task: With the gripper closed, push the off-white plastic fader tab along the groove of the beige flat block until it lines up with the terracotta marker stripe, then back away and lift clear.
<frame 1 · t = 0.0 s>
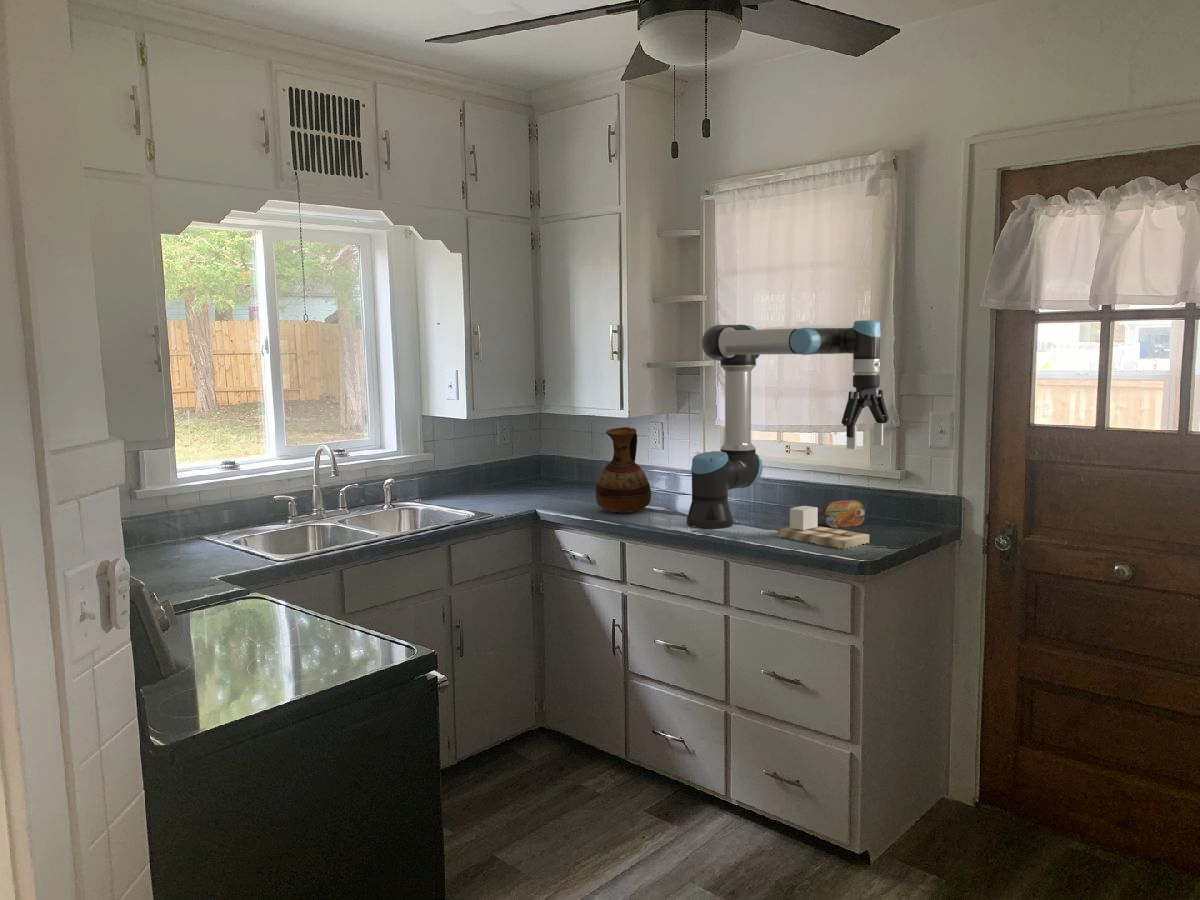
hand: (865, 446, 270), 28 cm above the countertop, tool pointing down, fingers open, 13 cm apart
ceramic pitcher: (623, 511, 330), on the countertop
fader tab: (803, 517, 280), point 6 cm above the countertop, slide at 0.0 cm
beige flat block: (822, 539, 275), on the countertop
tin: (843, 527, 296), on the countertop
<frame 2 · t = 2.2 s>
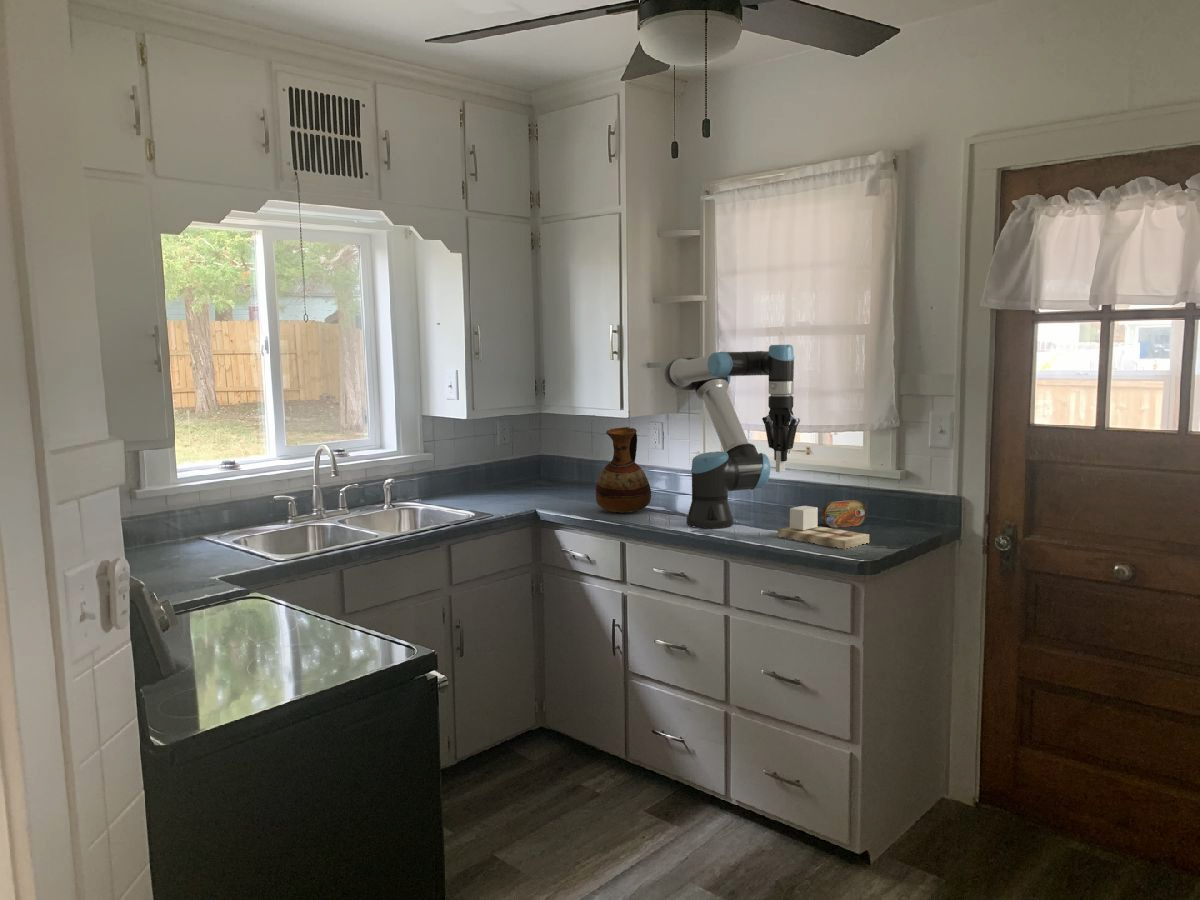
hand: (780, 471, 285), 19 cm above the countertop, tool pointing down, fingers closed
nothing on the countertop moved.
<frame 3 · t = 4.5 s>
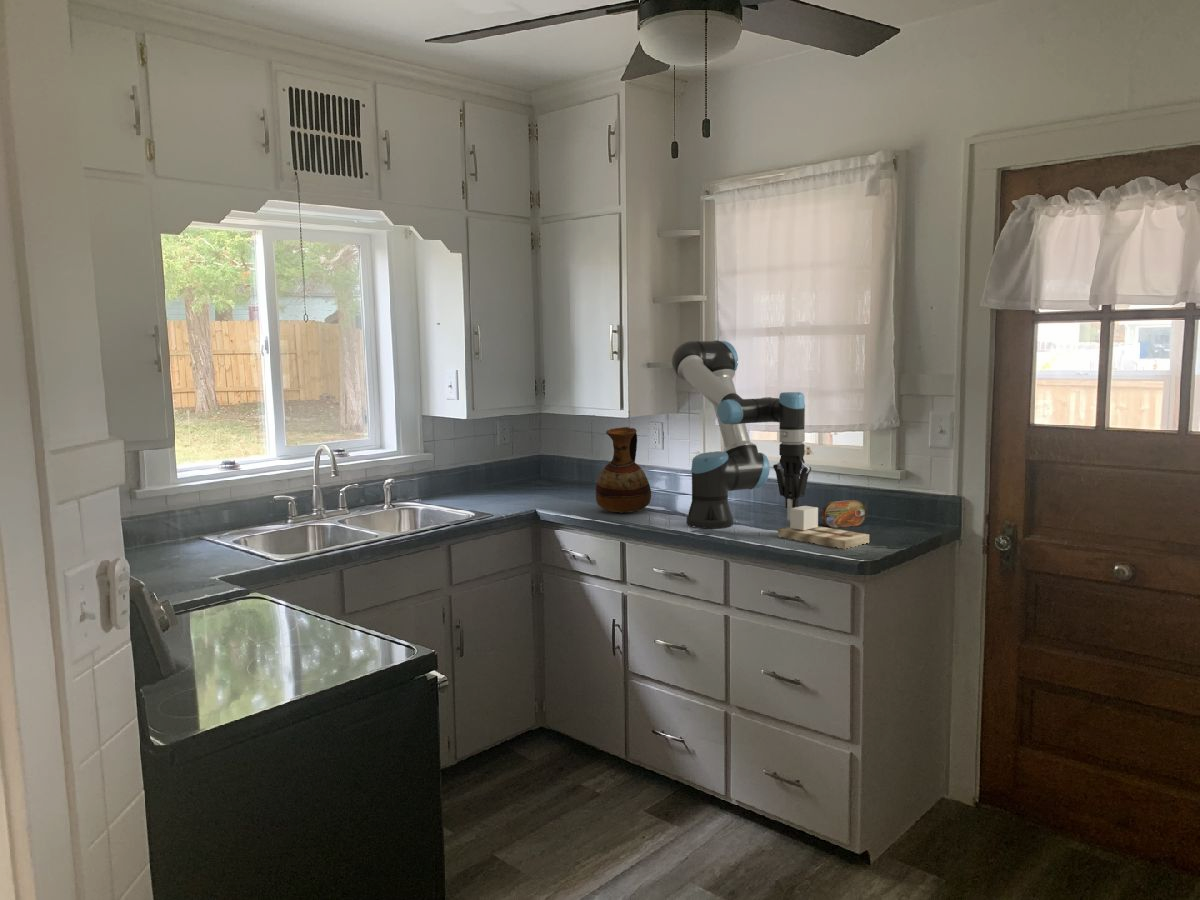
hand: (791, 519, 283), 5 cm above the countertop, tool pointing down, fingers closed
fader tab: (804, 517, 280), point 6 cm above the countertop, slide at 0.1 cm, touching gripper
everything else where it was.
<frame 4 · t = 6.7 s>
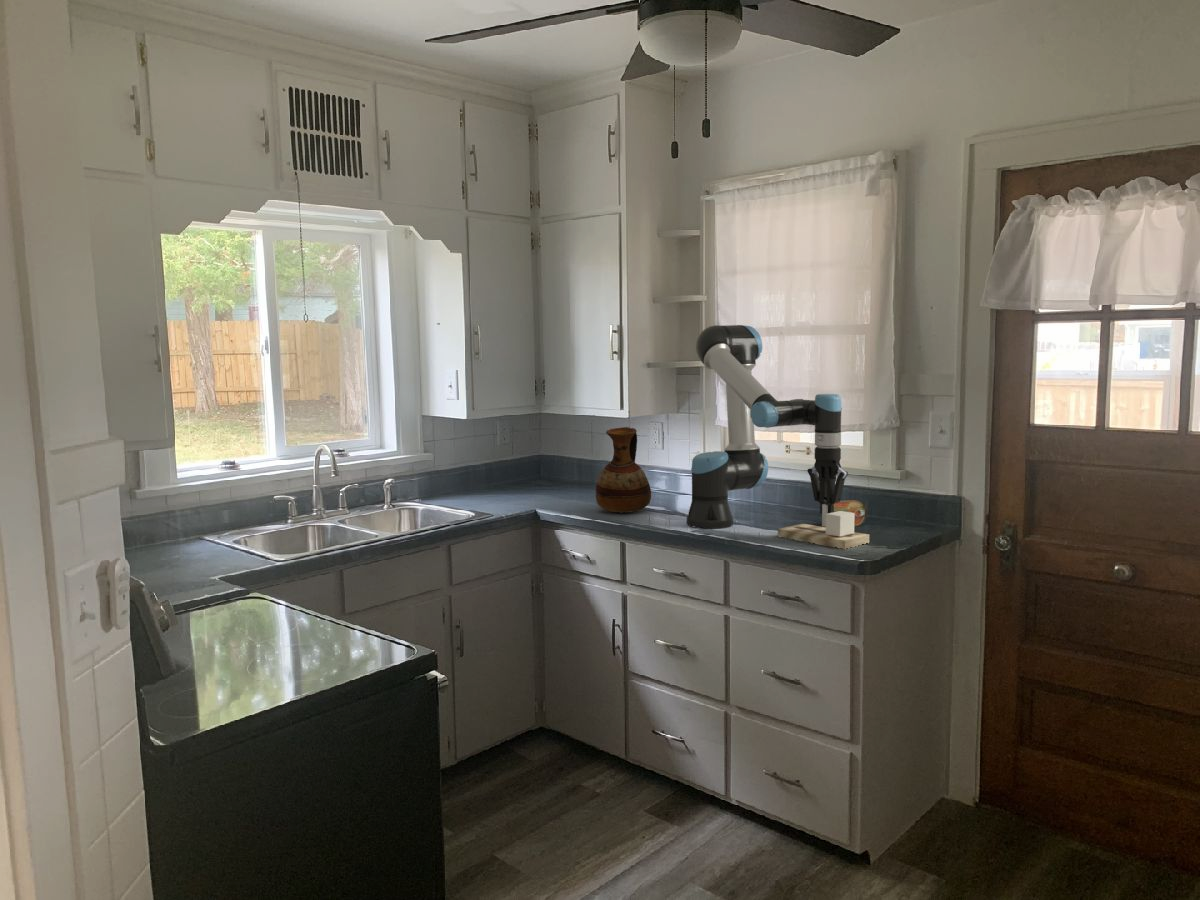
hand: (826, 525, 274), 5 cm above the countertop, tool pointing down, fingers closed
fader tab: (840, 523, 270), point 6 cm above the countertop, slide at 13.1 cm, touching gripper
everything else where it was.
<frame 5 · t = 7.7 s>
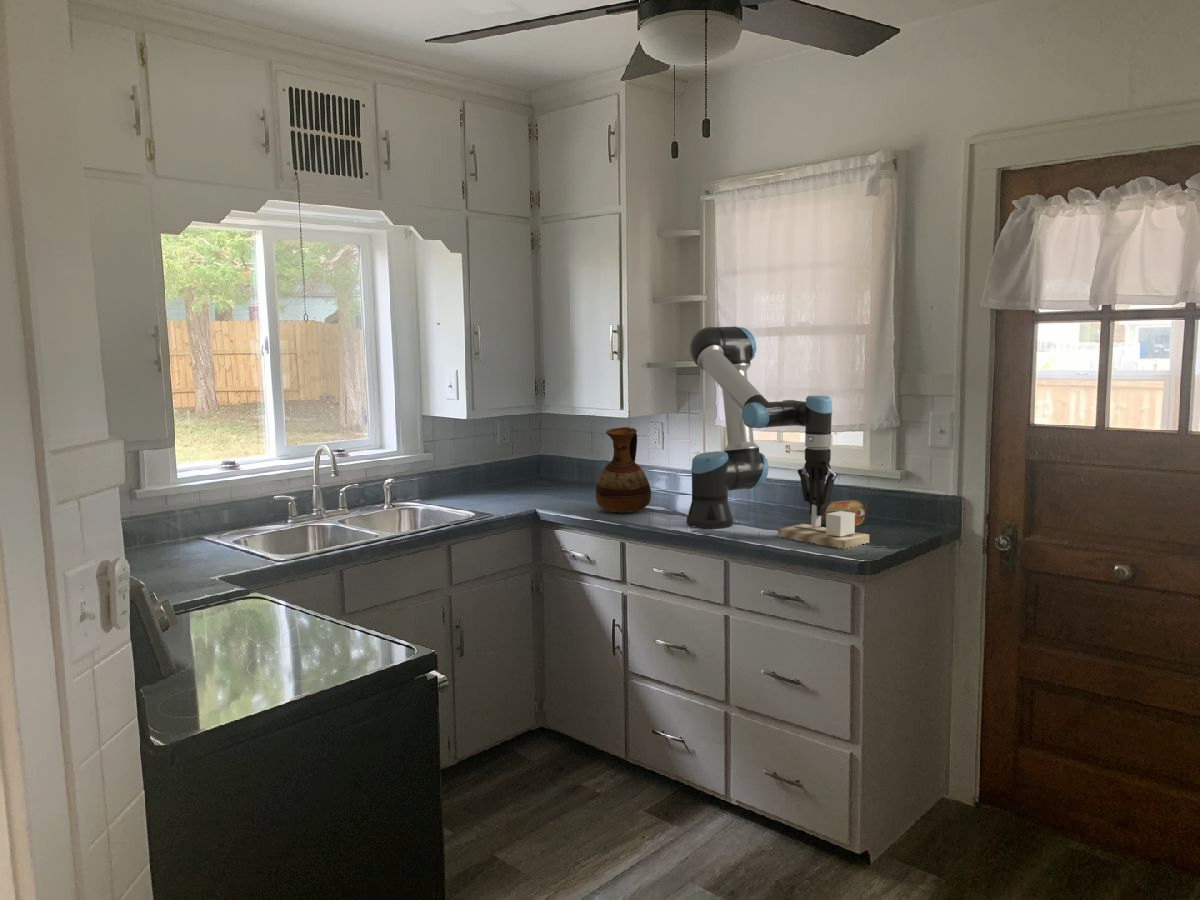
hand: (816, 525, 277), 4 cm above the countertop, tool pointing down, fingers closed
fader tab: (840, 523, 270), point 6 cm above the countertop, slide at 13.2 cm
everything else where it was.
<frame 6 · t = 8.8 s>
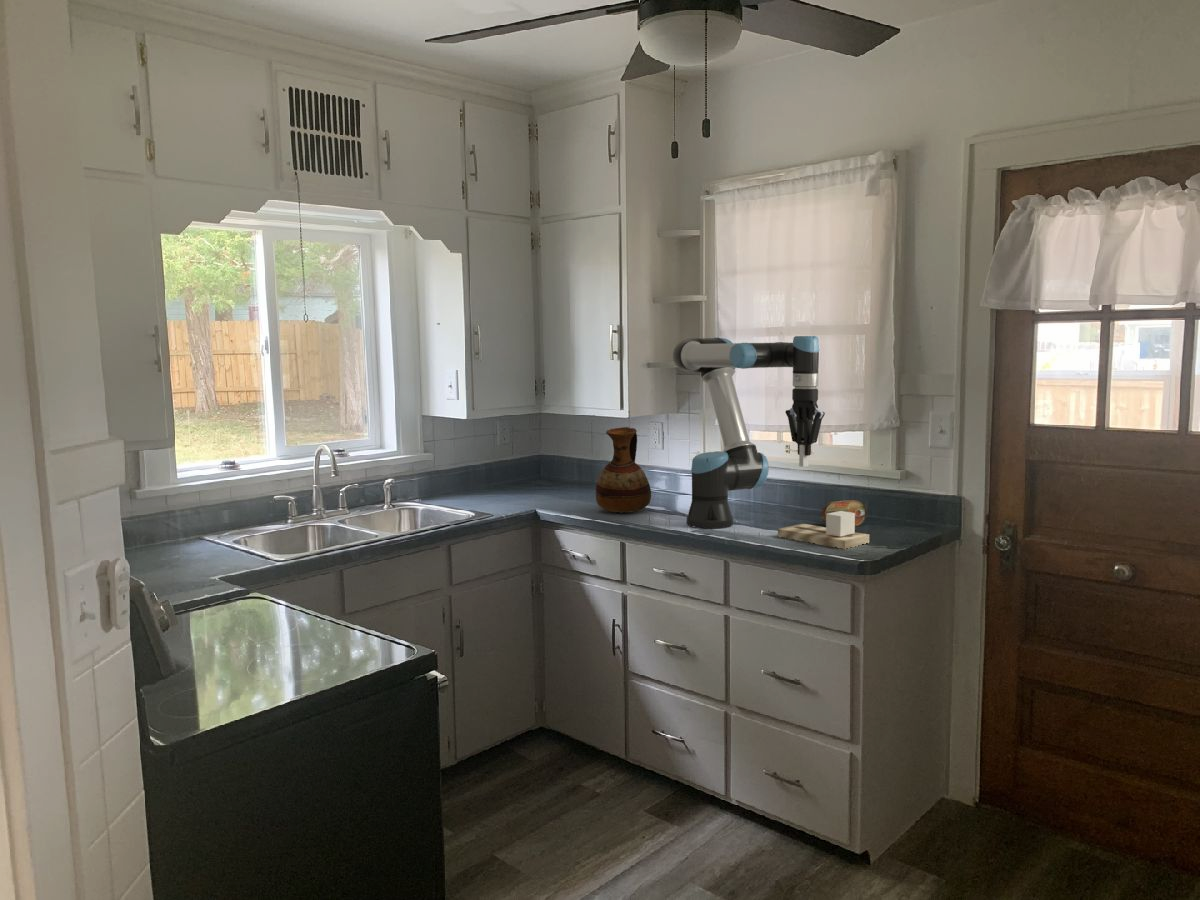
hand: (803, 465, 279), 22 cm above the countertop, tool pointing down, fingers closed
nothing on the countertop moved.
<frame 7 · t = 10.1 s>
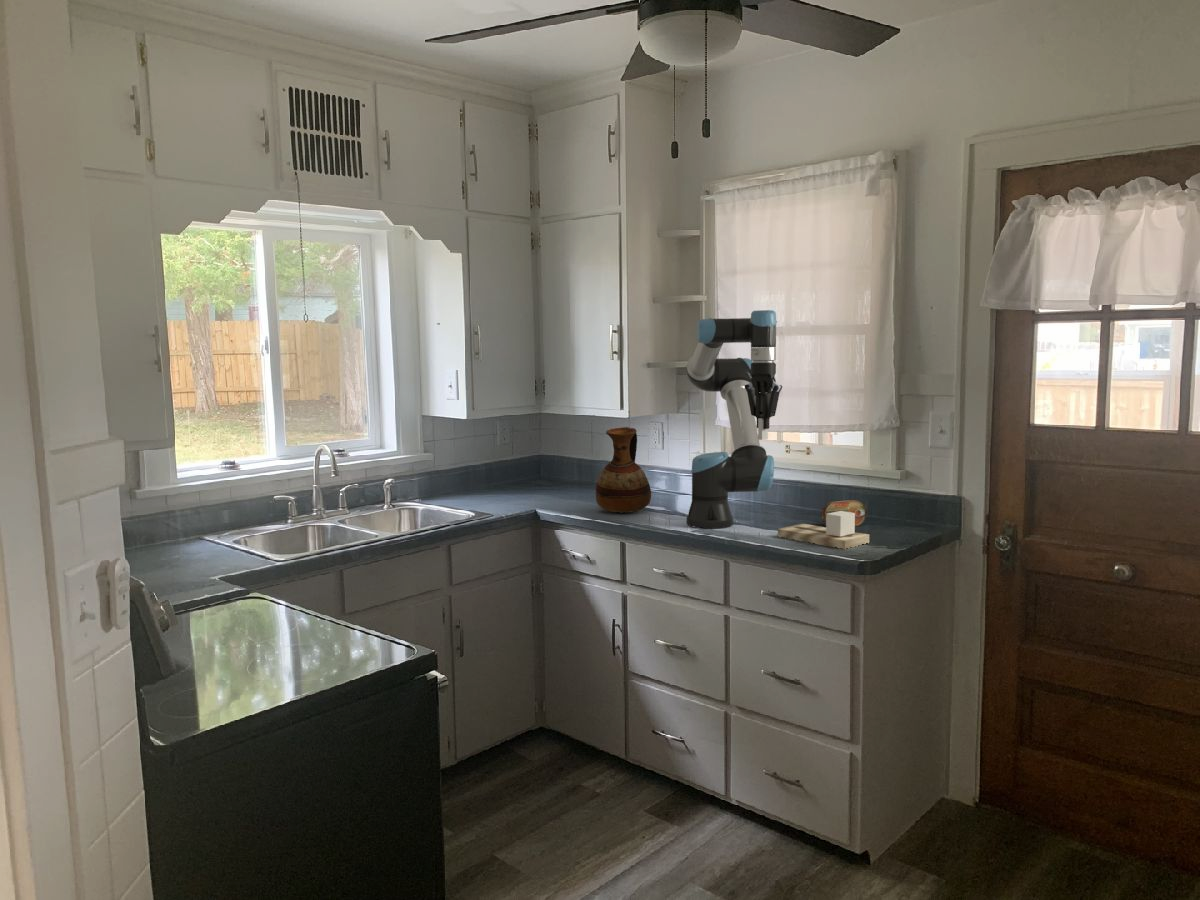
hand: (762, 439, 282), 29 cm above the countertop, tool pointing down, fingers closed
nothing on the countertop moved.
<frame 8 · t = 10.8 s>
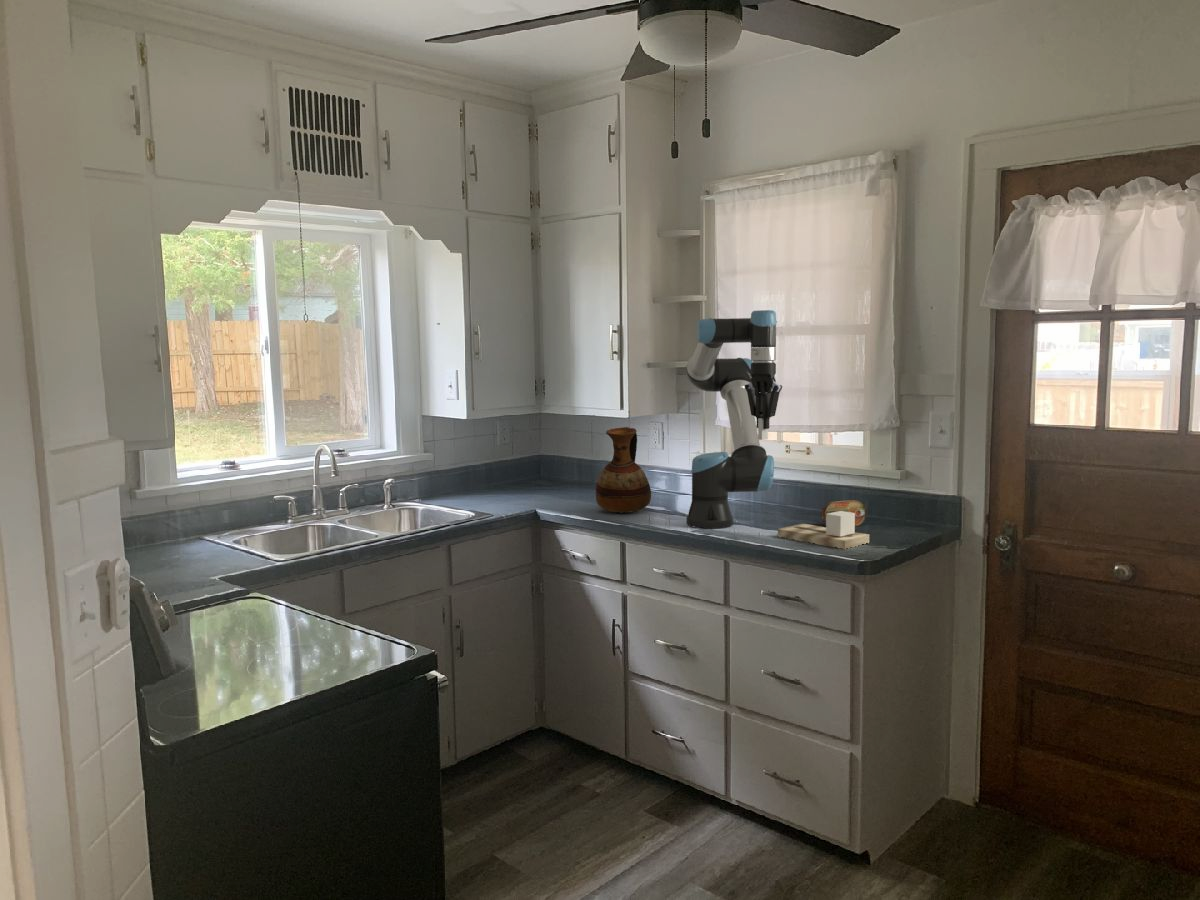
hand: (762, 439, 282), 29 cm above the countertop, tool pointing down, fingers closed
nothing on the countertop moved.
at the end: fader tab slide at 13.2 cm; tin moved 0.3 cm from its start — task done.
